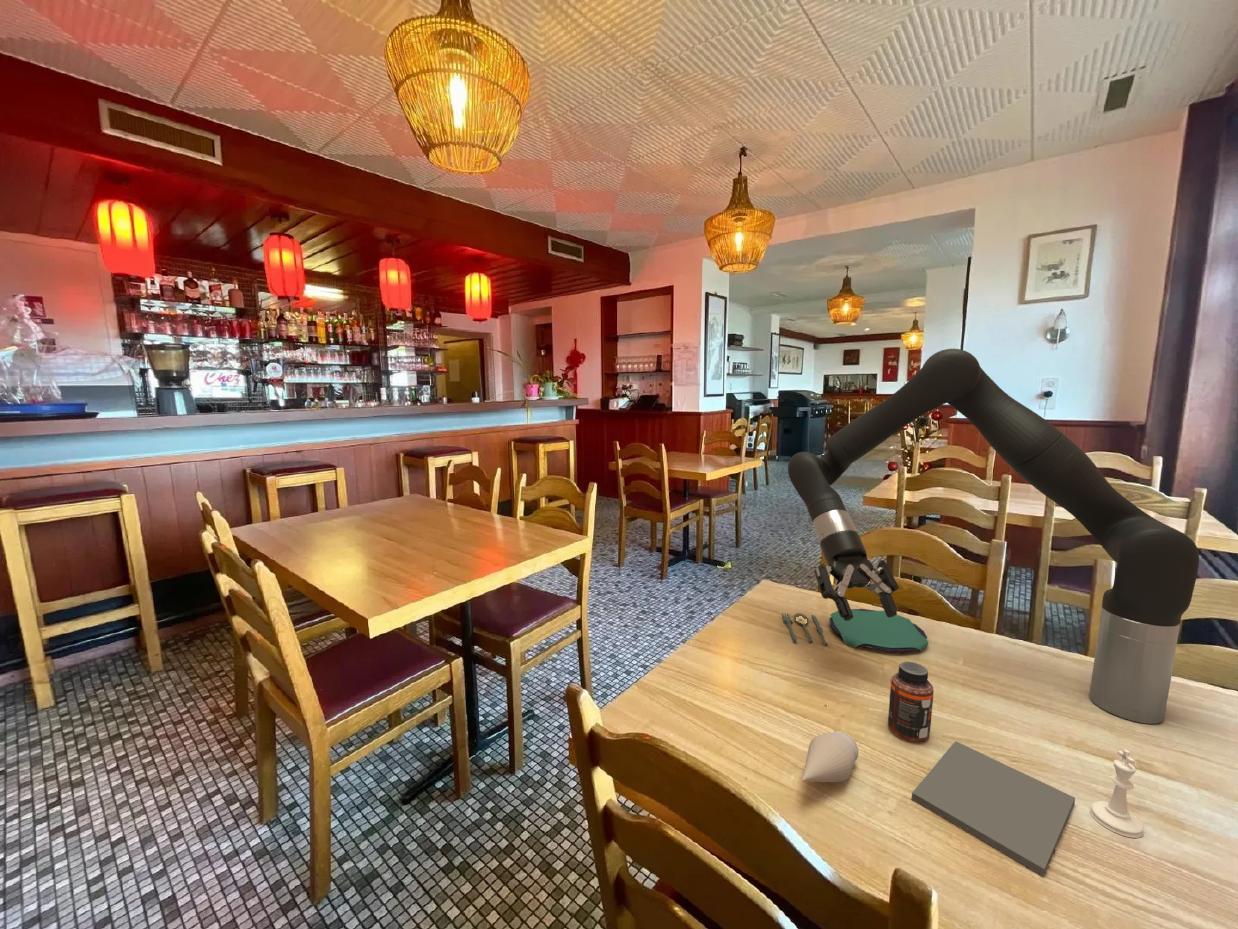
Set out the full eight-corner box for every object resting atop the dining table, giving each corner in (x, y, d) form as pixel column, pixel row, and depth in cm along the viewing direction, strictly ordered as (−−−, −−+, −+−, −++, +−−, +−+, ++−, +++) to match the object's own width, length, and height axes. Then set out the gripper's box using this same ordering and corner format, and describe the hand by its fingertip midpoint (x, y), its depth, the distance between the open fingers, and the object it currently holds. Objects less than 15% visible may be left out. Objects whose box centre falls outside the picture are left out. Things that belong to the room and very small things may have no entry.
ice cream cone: (794, 810, 66) (841, 769, 76) (833, 803, 62) (877, 761, 72) (772, 760, 68) (820, 727, 79) (808, 750, 65) (854, 717, 75)
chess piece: (1114, 804, 66) (1125, 737, 65) (1155, 837, 61) (1167, 765, 60) (1079, 806, 66) (1088, 738, 65) (1117, 839, 61) (1128, 766, 60)
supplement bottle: (936, 747, 77) (942, 680, 76) (894, 742, 78) (899, 676, 77) (921, 722, 83) (926, 659, 81) (882, 718, 84) (887, 656, 83)
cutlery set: (943, 662, 102) (944, 652, 102) (791, 650, 107) (792, 640, 107) (905, 619, 121) (906, 610, 121) (778, 610, 127) (779, 602, 126)
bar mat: (954, 746, 77) (955, 741, 77) (1074, 804, 66) (1075, 797, 66) (911, 799, 68) (912, 792, 67) (1043, 877, 57) (1044, 869, 56)
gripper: (812, 530, 95) (844, 613, 85) (880, 527, 97) (918, 607, 87) (797, 548, 101) (825, 627, 91) (861, 544, 103) (895, 622, 93)
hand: (871, 617), depth 89 cm, fingers open, 8 cm apart
